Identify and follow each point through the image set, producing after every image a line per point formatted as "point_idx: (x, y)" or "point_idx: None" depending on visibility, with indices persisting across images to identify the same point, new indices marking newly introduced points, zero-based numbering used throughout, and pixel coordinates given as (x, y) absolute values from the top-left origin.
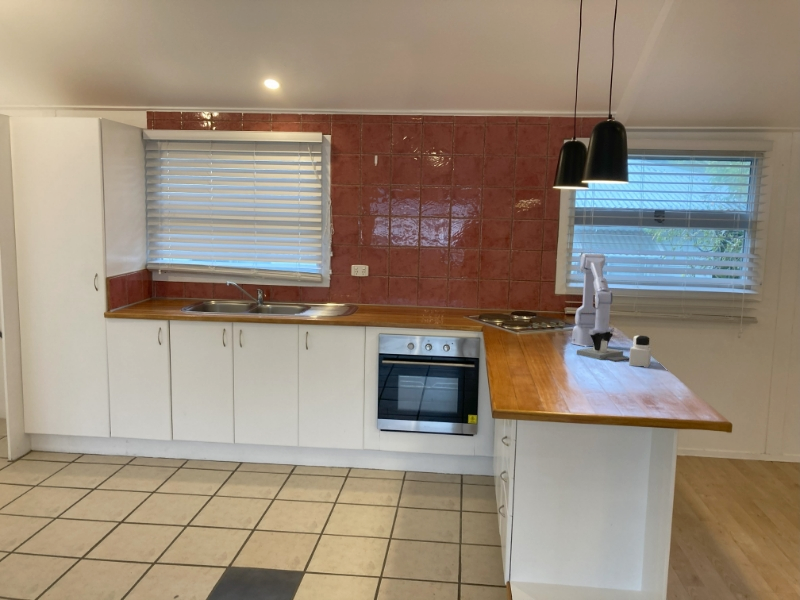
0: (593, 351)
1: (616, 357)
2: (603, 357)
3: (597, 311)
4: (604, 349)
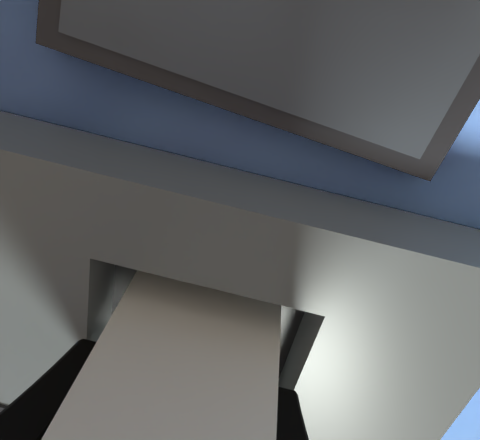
0: None
1: (253, 40)
2: (420, 224)
3: None
4: (176, 350)
